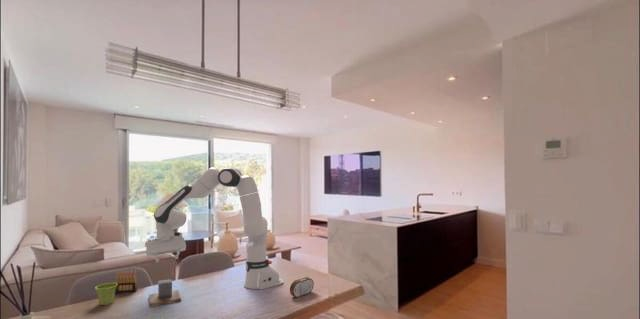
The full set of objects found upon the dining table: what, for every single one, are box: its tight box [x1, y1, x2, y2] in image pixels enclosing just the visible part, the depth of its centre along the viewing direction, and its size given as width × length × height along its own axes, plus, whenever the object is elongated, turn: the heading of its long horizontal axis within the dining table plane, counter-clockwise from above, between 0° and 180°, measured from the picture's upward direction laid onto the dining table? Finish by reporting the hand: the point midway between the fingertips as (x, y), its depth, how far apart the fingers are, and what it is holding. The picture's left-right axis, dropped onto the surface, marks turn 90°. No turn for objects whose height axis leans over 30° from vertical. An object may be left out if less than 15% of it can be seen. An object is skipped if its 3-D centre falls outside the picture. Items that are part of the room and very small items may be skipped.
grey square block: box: [157, 278, 173, 299], centre depth 168 cm, size 6×6×8 cm
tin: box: [289, 276, 315, 298], centre depth 172 cm, size 15×3×8 cm, turn 134°
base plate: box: [148, 289, 182, 308], centre depth 168 cm, size 14×14×2 cm
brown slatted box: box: [115, 269, 138, 294], centre depth 180 cm, size 11×2×12 cm, turn 99°
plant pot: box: [94, 282, 118, 306], centre depth 164 cm, size 9×9×9 cm
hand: (167, 260), depth 179 cm, fingers open, 8 cm apart
